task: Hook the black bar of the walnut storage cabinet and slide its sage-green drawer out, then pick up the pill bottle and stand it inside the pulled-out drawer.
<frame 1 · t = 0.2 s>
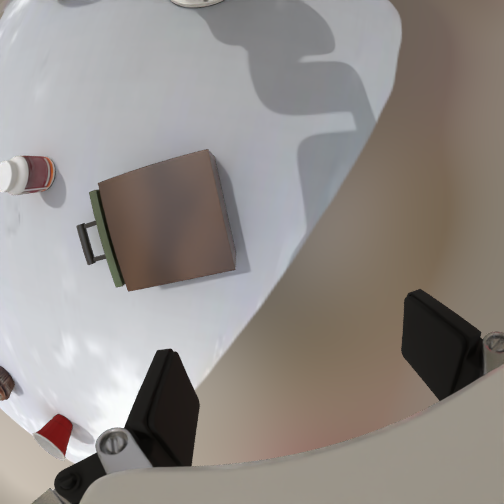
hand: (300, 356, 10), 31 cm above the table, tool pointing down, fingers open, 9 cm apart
plastic cup: (64, 420, 51), on the table
cabinet: (177, 216, 39), on the table
pill bottle: (44, 174, 36), on the table
drawer: (136, 229, 35), point 4 cm above the table, slide at 1.0 cm
cupcake: (6, 376, 47), on the table
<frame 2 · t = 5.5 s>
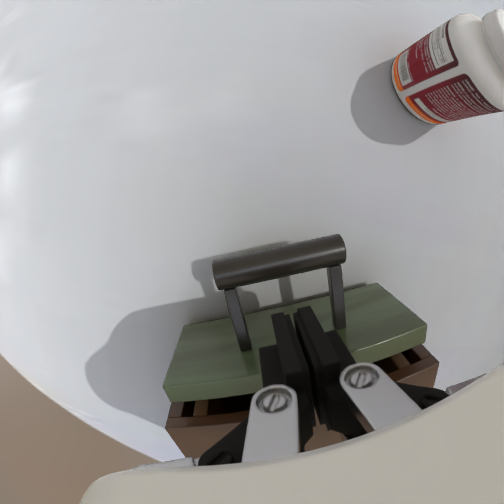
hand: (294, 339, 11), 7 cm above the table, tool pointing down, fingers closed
cabinet: (298, 396, 21), on the table
pill bottle: (419, 88, 15), on the table
drawer: (300, 385, 15), point 4 cm above the table, slide at 1.0 cm, touching gripper
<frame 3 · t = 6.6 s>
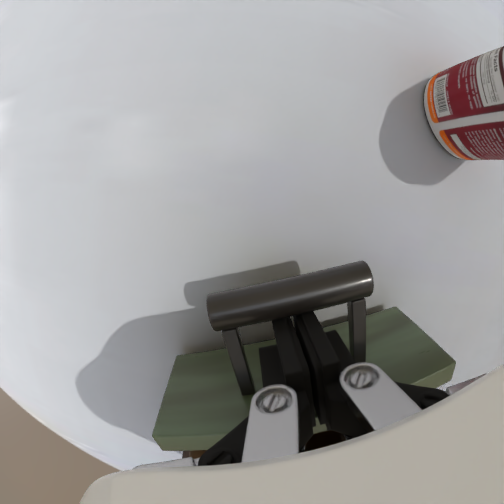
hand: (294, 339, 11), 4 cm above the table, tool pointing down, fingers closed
pill bottle: (451, 116, 13), on the table
drawer: (308, 422, 13), point 4 cm above the table, slide at 3.3 cm
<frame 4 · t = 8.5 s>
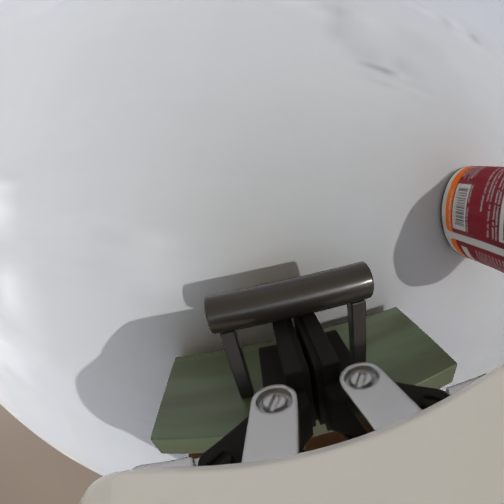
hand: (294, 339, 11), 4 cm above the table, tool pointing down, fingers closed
pill bottle: (465, 209, 14), on the table
drawer: (308, 424, 13), point 4 cm above the table, slide at 9.9 cm, touching gripper
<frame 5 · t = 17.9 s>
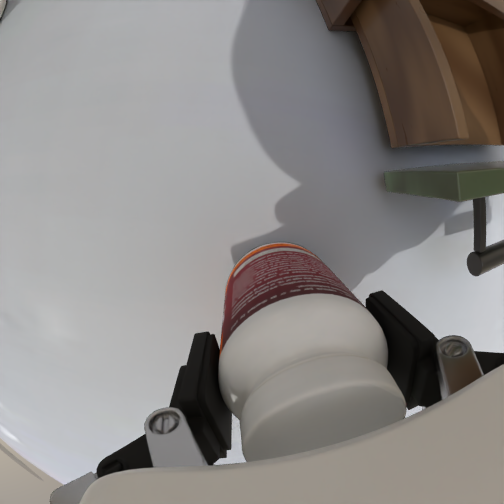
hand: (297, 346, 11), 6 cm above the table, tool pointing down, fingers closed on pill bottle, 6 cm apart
pill bottle: (277, 289, 17), on the table, touching gripper
drawer: (479, 114, 10), point 4 cm above the table, slide at 9.8 cm
when the fingers open (8 cm above the table, at t = 25.0 s): pill bottle stays where it is, resting on drawer.
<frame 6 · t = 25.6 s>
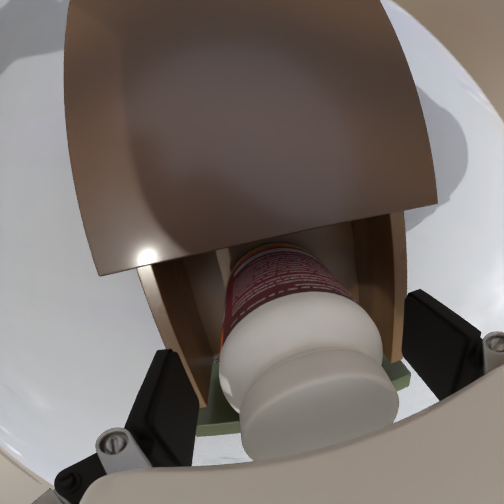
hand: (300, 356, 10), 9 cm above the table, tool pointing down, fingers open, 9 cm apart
cabinet: (237, 105, 16), on the table
pill bottle: (276, 288, 17), point 2 cm above the table, touching drawer
drawer: (289, 336, 15), point 4 cm above the table, slide at 9.9 cm, touching pill bottle
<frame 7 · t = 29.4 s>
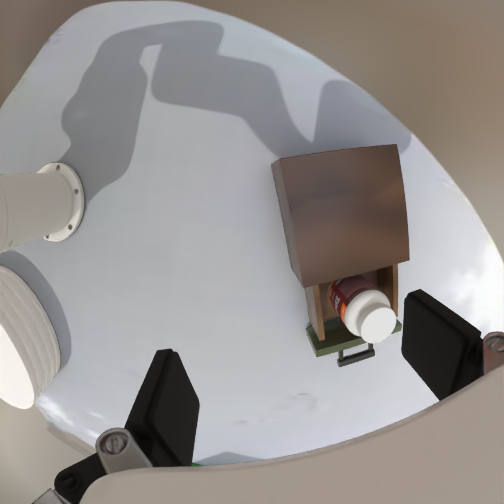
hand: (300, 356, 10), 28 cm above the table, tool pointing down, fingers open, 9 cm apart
cabinet: (331, 206, 37), on the table
pill bottle: (345, 289, 38), point 2 cm above the table, touching drawer
plate stack: (14, 326, 40), on the table
drawer: (352, 308, 36), point 4 cm above the table, slide at 9.9 cm, touching pill bottle
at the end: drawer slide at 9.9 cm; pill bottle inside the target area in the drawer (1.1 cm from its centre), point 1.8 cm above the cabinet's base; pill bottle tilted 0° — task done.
